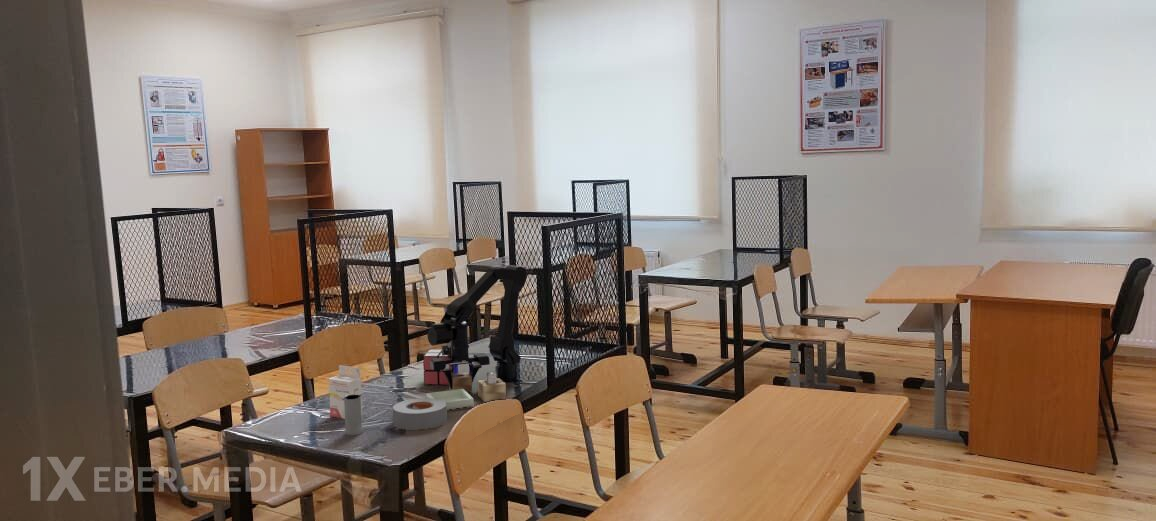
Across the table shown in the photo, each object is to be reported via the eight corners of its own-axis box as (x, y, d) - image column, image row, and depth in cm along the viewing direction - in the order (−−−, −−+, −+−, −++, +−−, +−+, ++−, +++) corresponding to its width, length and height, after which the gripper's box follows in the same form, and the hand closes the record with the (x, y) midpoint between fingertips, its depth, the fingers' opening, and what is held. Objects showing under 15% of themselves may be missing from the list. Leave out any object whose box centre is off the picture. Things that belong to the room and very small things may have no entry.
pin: (498, 398, 256) (497, 373, 255) (489, 399, 255) (488, 374, 254) (495, 395, 259) (494, 371, 258) (486, 396, 258) (485, 372, 257)
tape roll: (401, 413, 242) (401, 397, 241) (452, 414, 241) (451, 397, 241) (386, 430, 227) (386, 413, 226) (440, 431, 226) (439, 413, 225)
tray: (463, 396, 258) (463, 388, 258) (473, 406, 247) (473, 398, 247) (426, 401, 254) (426, 393, 253) (435, 411, 243) (434, 403, 242)
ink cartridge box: (329, 416, 239) (327, 368, 237) (340, 412, 243) (338, 364, 242) (352, 420, 235) (350, 371, 234) (363, 415, 240) (361, 367, 238)
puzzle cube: (453, 385, 272) (452, 356, 270) (423, 385, 272) (422, 356, 271) (458, 377, 282) (457, 349, 280) (429, 377, 282) (428, 349, 281)
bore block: (499, 393, 262) (498, 378, 261) (505, 398, 255) (505, 383, 255) (478, 395, 259) (477, 380, 258) (484, 401, 252) (484, 386, 252)
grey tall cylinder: (347, 436, 222) (345, 400, 220) (344, 431, 226) (342, 395, 224) (364, 433, 224) (362, 397, 223) (360, 429, 228) (358, 393, 227)
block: (467, 386, 269) (466, 372, 268) (472, 391, 264) (471, 376, 263) (449, 389, 267) (449, 374, 266) (454, 393, 261) (453, 378, 261)
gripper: (479, 333, 274) (481, 378, 276) (425, 338, 267) (426, 384, 269) (489, 339, 264) (490, 386, 266) (433, 345, 257) (434, 393, 259)
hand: (460, 387), depth 265 cm, fingers closed on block, 6 cm apart
